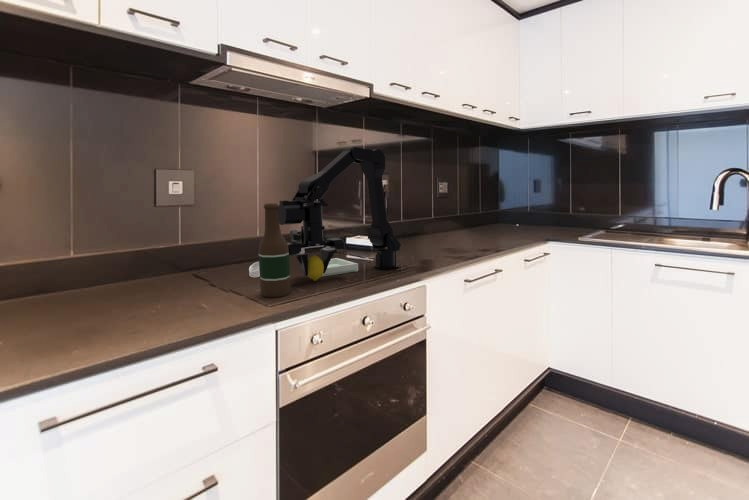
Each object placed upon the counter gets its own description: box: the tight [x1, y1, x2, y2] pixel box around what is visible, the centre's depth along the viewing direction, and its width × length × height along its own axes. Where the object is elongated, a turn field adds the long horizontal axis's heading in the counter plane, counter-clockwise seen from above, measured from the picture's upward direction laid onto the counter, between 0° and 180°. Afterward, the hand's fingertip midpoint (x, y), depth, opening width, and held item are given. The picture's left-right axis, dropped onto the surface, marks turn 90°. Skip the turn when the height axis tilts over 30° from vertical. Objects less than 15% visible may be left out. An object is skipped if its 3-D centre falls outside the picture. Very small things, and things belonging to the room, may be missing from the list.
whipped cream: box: [248, 261, 260, 278], centre depth 132 cm, size 8×7×5 cm
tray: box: [320, 257, 359, 278], centre depth 138 cm, size 14×14×2 cm
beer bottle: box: [258, 202, 292, 298], centre depth 107 cm, size 8×8×24 cm
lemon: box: [306, 254, 324, 282], centre depth 122 cm, size 6×6×8 cm
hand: (314, 274), depth 122 cm, fingers closed on lemon, 5 cm apart
